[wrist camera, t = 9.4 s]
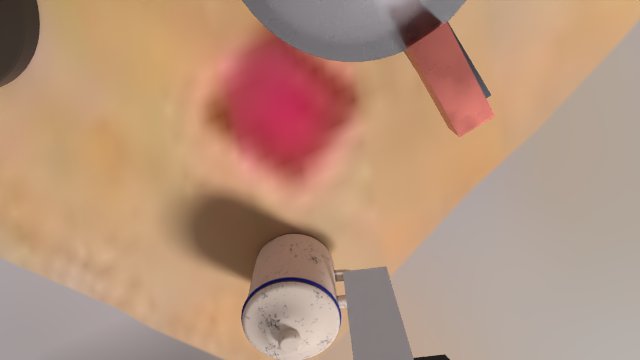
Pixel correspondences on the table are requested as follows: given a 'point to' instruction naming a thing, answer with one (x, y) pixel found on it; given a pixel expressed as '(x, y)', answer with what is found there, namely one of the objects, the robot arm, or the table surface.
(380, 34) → the lid
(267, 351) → the teacup with lid
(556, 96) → the table surface
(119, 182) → the table surface
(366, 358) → the robot arm
